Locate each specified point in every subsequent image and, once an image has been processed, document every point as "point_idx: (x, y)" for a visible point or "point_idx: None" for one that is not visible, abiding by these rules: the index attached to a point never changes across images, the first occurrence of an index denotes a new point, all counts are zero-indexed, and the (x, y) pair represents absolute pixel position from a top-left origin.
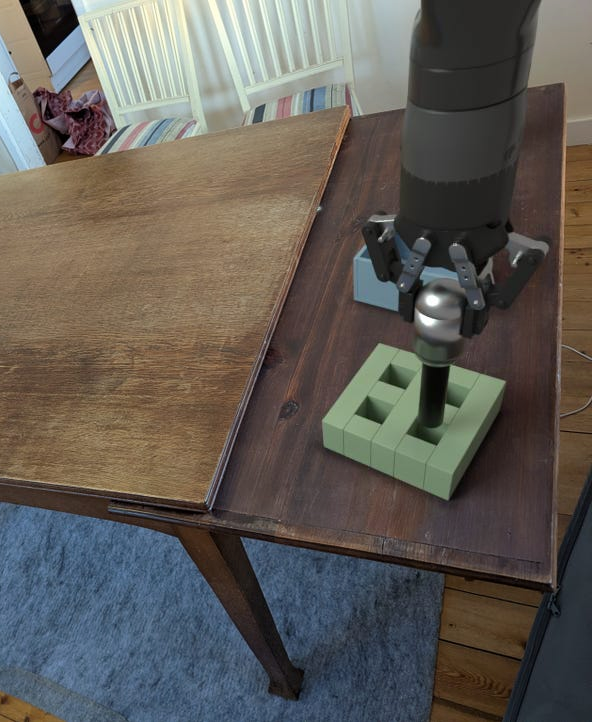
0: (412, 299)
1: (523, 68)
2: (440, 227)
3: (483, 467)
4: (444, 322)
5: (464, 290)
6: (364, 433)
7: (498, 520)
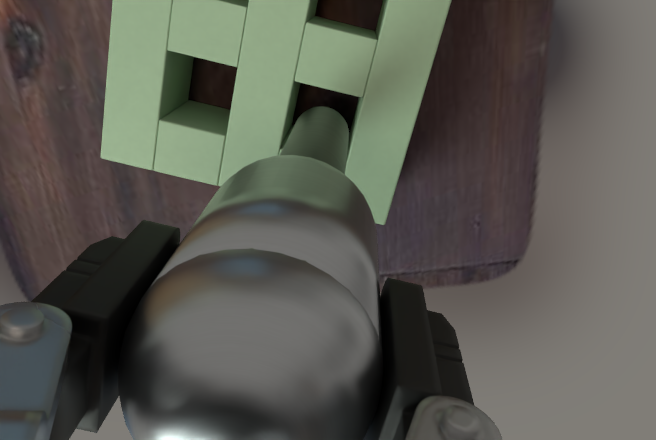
0: (110, 408)
1: None
2: None
3: (433, 98)
4: None
5: (338, 429)
6: (198, 170)
7: (461, 205)
